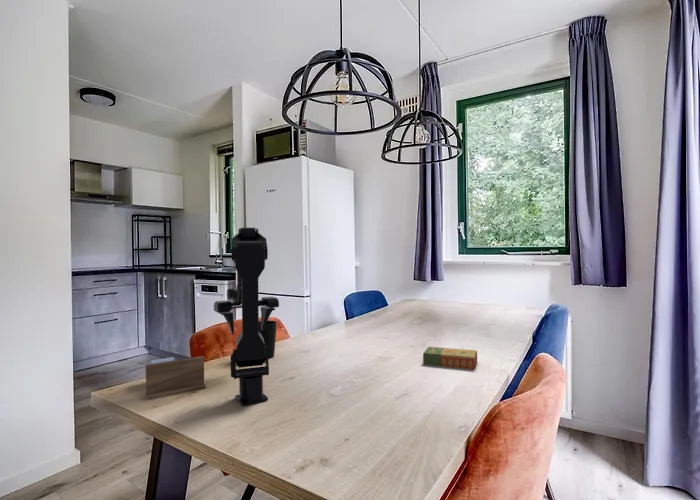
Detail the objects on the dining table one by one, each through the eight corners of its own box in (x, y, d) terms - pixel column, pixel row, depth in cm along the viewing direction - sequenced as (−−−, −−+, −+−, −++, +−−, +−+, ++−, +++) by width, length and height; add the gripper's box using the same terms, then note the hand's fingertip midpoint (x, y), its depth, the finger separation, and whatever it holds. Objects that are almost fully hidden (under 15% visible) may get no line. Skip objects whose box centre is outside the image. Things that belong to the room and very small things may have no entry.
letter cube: (176, 383, 107) (176, 362, 107) (153, 387, 104) (152, 366, 104) (173, 377, 112) (173, 357, 112) (150, 381, 109) (150, 360, 109)
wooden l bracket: (205, 388, 102) (205, 358, 102) (147, 399, 95) (146, 368, 95) (201, 382, 107) (201, 354, 107) (145, 393, 99) (145, 363, 99)
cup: (271, 360, 127) (271, 325, 127) (250, 359, 129) (250, 324, 129) (280, 354, 135) (280, 320, 135) (260, 353, 136) (260, 320, 136)
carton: (475, 370, 115) (475, 356, 115) (422, 365, 121) (422, 351, 121) (477, 362, 123) (477, 349, 123) (427, 358, 129) (427, 345, 129)
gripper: (266, 278, 128) (267, 324, 128) (209, 281, 118) (210, 331, 118) (279, 280, 119) (280, 330, 119) (217, 284, 109) (218, 338, 109)
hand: (247, 332), depth 116 cm, fingers open, 9 cm apart
